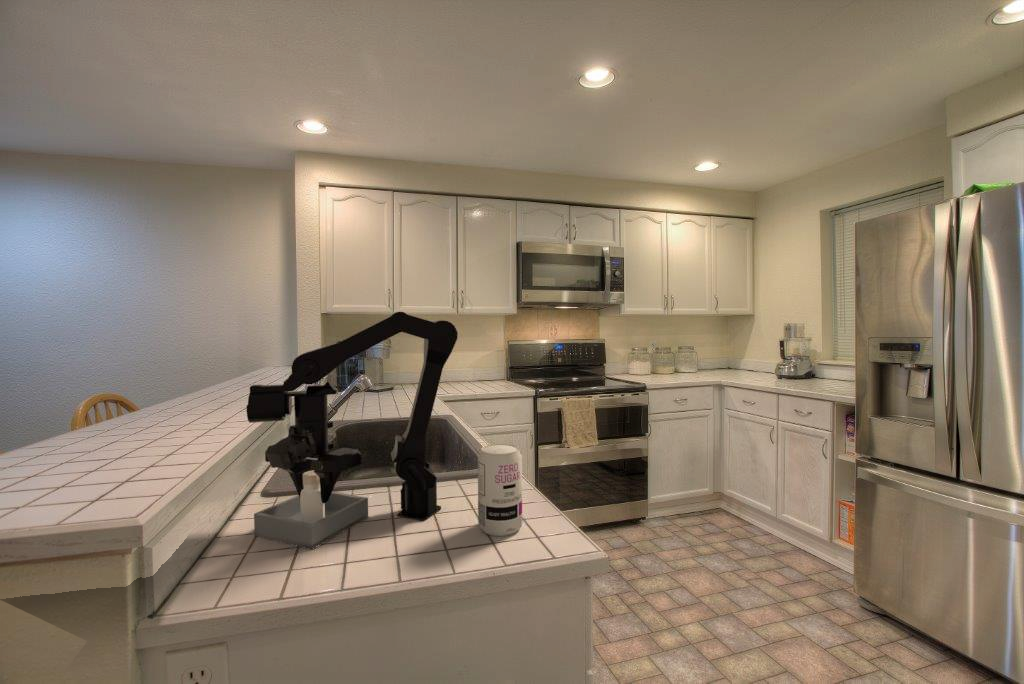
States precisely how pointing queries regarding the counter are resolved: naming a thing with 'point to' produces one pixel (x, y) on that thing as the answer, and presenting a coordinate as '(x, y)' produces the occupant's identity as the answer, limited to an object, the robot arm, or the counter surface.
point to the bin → (288, 527)
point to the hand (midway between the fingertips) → (313, 500)
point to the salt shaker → (311, 499)
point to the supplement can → (500, 489)
